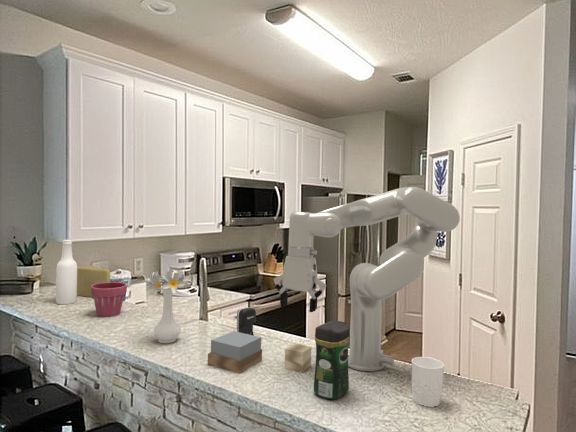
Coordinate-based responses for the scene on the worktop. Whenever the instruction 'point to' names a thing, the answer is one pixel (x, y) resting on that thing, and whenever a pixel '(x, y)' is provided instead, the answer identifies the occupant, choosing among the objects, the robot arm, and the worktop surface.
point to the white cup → (427, 381)
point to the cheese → (90, 279)
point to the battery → (246, 320)
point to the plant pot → (108, 298)
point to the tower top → (236, 345)
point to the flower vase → (166, 304)
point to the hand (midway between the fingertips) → (298, 308)
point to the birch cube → (297, 357)
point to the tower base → (234, 362)
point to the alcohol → (66, 276)
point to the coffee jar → (331, 360)
